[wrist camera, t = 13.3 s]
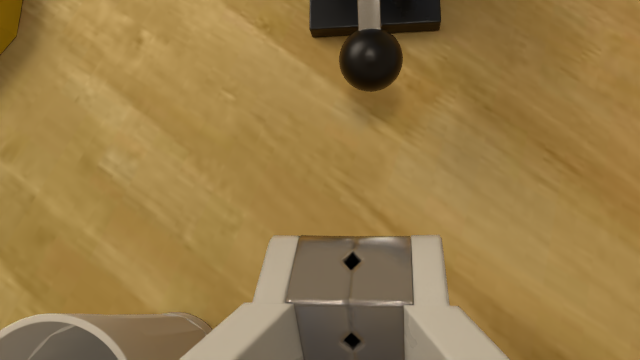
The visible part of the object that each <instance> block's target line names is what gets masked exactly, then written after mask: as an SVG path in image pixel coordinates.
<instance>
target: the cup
mask: <svg viewBox="0 0 640 360" xmlns="http://www.w3.org/2000/svg"><path fill="white" fill-rule="evenodd" d="M211 331H212V329H211V328H210V327H209V326H208V325H207V324H206V323H205V322H204V321H202V320H201V319H199V318H197V317H195V316H193V315H190V314H187V313H181V312H171V313H165V314H146V315H101V314H55V313H50V314H39V315H34V316H30V317H27V318H23V319H21V320H18V321H16V322H14V323H12V324H10V325H8V326H6V327H5V328H3V329H2V330H0V360H179V359H180V358H181V357H182V356H183V355H185V354H186V353H187V352H188V351H189V350H190V349H191V348H193V347H194V346H195V345H196V344H197V343H198V342H200V341H201V340H202V339H203V338H204V337H205V336H206V335H208V334H209V333H210V332H211Z"/></svg>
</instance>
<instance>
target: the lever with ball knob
mask: <svg viewBox="0 0 640 360" xmlns="http://www.w3.org/2000/svg"><path fill="white" fill-rule="evenodd" d="M357 2H358V30H357V31H355V32H354V33H352V34H351V35H350V36H349V37H348V38H347V39H346V41H345V42H344V44H343V46H342V48H341V51H340V56H339V63H340V69H341V72H342V74H343V76H344V78H345V79H346V80H347V81H348V82H349V83H350V84H351V85H352V86H353V87H355V88H357V89H359V90H362V91H370V92H372V91H378V90H381V89H384V88H386V87H387V86H389V85H390V84H391V83H392V82H393V81H394V80H395V79H396V78H397V76H398V75H399V73H400V70H401V67H402V62H403V56H402V50H401V47H400V45H399V43H398V41H397V40H396V38H395V37H394V36H393V35H392V34H391V33H389V32H388V31H386V30H384V29H381V0H357Z"/></svg>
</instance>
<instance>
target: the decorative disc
mask: <svg viewBox="0 0 640 360" xmlns="http://www.w3.org/2000/svg"><path fill="white" fill-rule="evenodd" d="M22 1H23V0H0V54H1V53H2V52H3V51H4V50H5V49H6V47H7V46H8V45H9V44H10V43H11V42H12V41H13V39H14V38H15V37H16V36H17V30H18V24H19V18H20V13H21V7H22Z"/></svg>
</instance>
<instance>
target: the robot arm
mask: <svg viewBox="0 0 640 360" xmlns="http://www.w3.org/2000/svg"><path fill="white" fill-rule="evenodd" d="M179 360H510V359H509V358H508V357H507V356H506V355H505V354H504V353H503V352H502V351H501V349H500V348H499V347H498V346H497V345H496V344H495V343H494V342H493V341H492V340H491V339H490V338H489V337H488V336H487V335H486V334H485V333H484V332H483V331H482V330H481V329H480V328H479V327H478V326H477V325H476V324H475V323H474V322H473V320H472V319H471V318H470V317H469V316H468V315H467V314H466V313H465V312H464V311H463V310H462V309H461V308H460V307H459V306H450V305H449V296H448V288H447V280H446V271H445V263H444V254H443V246H442V238H441V237H440V235H411V239H410V236H308V235H301V236H283V235H274V236H273V237H272V238H271V240H270V241H269V244H268V248H267V251H266V255H265V258H264V262H263V266H262V269H261V273H260V276H259V280H258V284H257V287H256V291H255V294H254V298H253V302H252V303H243V304H242V305H241V306H240V307H239V308H237V309H236V310H235V311H234V312H233V313H232V314H230V315H229V316H228V317H227V318H226V319H225V320H224V321H222V322H221V323H220V324H219V325H218V326H217V327H216V328H214V329H213V330H212V331H211V332H210V333H209V334H208V335H206V336H205V337H204V338H203V339H202V340H201V341H200V342H198V343H197V344H196V345H195V346H194V347H193V348H191V349H190V350H189V351H188V352H187V353H186V354H185V355H183V356H182V357H181V358H180V359H179Z"/></svg>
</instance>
